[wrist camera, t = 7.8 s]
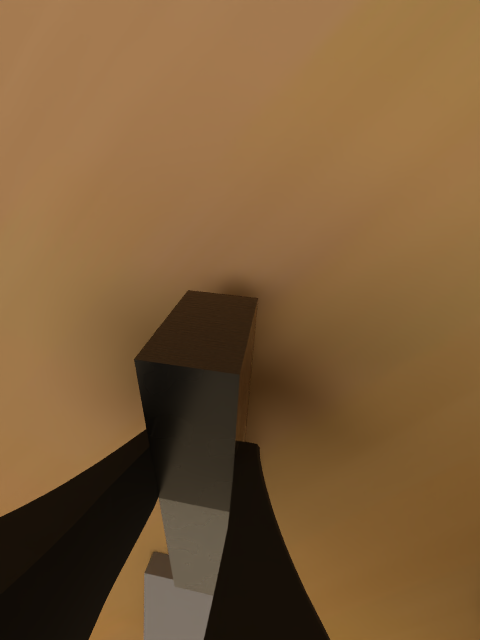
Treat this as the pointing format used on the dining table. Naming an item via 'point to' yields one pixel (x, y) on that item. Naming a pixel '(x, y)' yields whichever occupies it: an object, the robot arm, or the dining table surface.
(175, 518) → the tall grey pillar block
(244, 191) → the dining table surface
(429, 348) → the dining table surface
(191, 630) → the tile
